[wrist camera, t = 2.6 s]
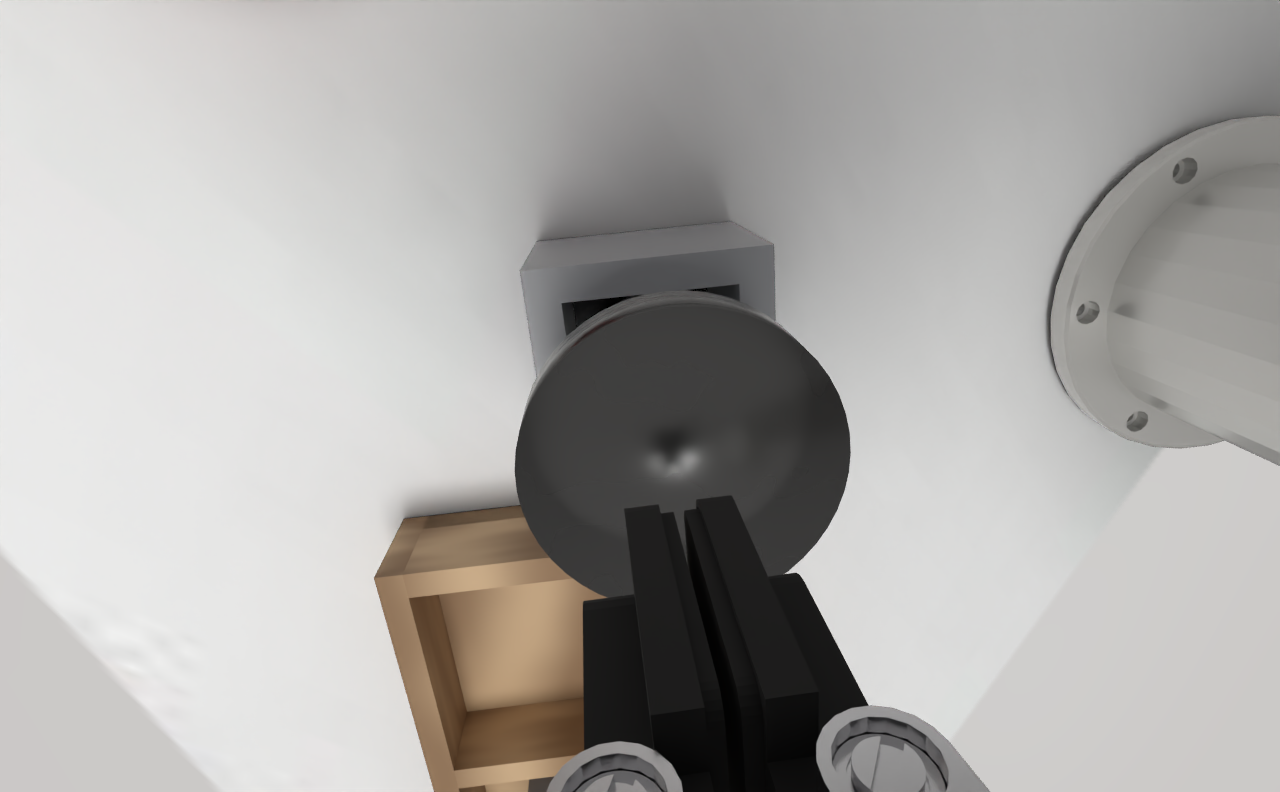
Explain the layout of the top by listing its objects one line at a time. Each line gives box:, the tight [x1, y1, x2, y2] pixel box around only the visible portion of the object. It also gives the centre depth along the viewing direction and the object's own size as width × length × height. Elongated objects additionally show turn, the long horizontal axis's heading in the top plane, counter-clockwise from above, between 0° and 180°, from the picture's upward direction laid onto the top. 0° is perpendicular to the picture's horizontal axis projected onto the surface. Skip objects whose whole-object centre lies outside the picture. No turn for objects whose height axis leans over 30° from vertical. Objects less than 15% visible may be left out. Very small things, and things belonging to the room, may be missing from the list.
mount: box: [520, 221, 775, 377], centre depth 22 cm, size 7×7×6 cm
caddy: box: [374, 505, 607, 792], centre depth 28 cm, size 13×20×6 cm, turn 5°
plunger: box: [515, 290, 851, 598], centre depth 18 cm, size 7×7×8 cm
